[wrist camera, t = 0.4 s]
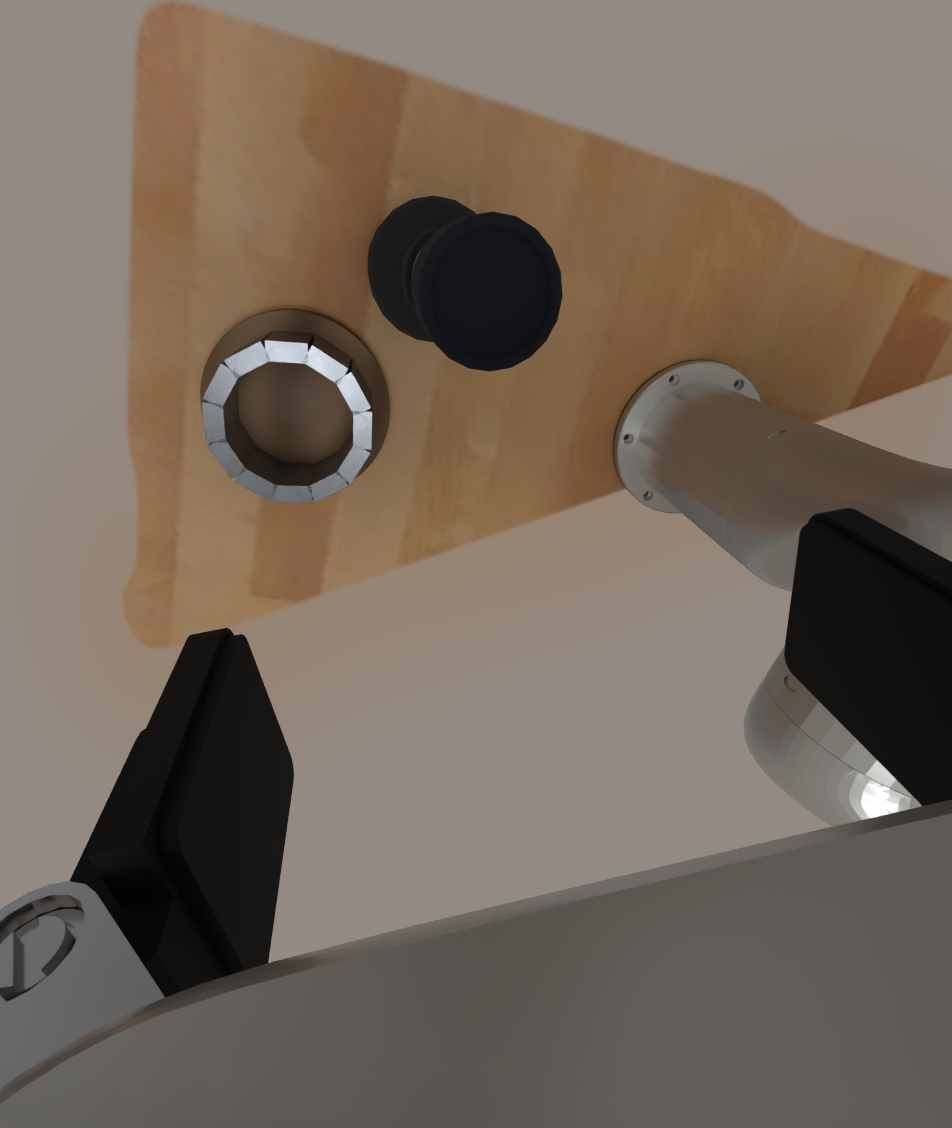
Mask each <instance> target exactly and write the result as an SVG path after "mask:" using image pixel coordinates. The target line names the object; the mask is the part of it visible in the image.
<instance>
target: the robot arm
mask: <svg viewBox="0 0 952 1128" xmlns="http://www.w3.org/2000/svg"><path fill="white" fill-rule="evenodd" d="M671 376H672V379H671V380H670V381H669V379H670V377H671ZM735 381H736V383H735ZM734 383H735V384H734ZM626 434H627V437H626V438H625V439H623V438H624V436H625V435H626ZM614 458H615V466H616V469H617V472H618V475H619V477H620V480H621V481H622V483H623V484H624V486H625V488H626V489H627V490H628V491H629V492H630V493H631V494H632V495H633V496H634V497H635V498H636V499H637V500H638V501H639V502H641V503H642V504H643V505H645V506H647V507H650V508H652V509H654V510H657V511H661V512H666V513H683V514H684V515H685V516H686V517H687V518H688V519H690V520H691V521H692V522H693V523H694V524H696V525H697V526H698V527H699V528H700V529H701V530H702V531H704V532H705V533H706V534H707V535H708V536H709V537H711V538H712V539H713V540H714V541H716V543H718V544H719V545H720V546H721V547H722V548H723V549H725V550H726V551H727V552H728V553H729V554H731V555H732V556H733V557H734V558H735V559H736V560H738V561H739V562H740V563H742V564H743V565H744V566H745V567H746V568H747V569H748V570H750V571H751V572H752V573H753V574H754V575H756V576H757V577H759V578H760V579H762V580H763V581H765V582H767V583H769V584H771V585H773V586H776V587H778V588H780V589H785V590H788V591H792V596H791V603H790V612H789V619H788V627H787V635H786V643H785V646H784V648H783V650H782V651H781V653H780V654H779V656H778V657H777V659H776V660H775V662H774V663H773V665H772V666H771V668H770V670H769V671H768V672H767V675H766V676H765V678H764V679H763V681H762V682H761V684H760V686H759V687H758V689H757V691H756V692H755V694H754V696H753V698H752V699H751V701H750V703H749V706H748V708H747V711H746V714H745V719H744V733H745V740H746V742H747V745H748V748H749V750H750V752H751V754H752V755H753V757H754V759H755V760H756V762H757V763H758V764H759V766H760V767H761V768H762V769H763V771H764V772H765V773H766V774H767V775H768V776H769V777H770V778H771V779H772V780H773V781H774V782H775V783H776V784H777V785H778V786H779V787H780V788H781V789H783V790H784V791H785V792H786V793H787V794H788V795H790V796H791V797H792V798H793V799H794V800H796V801H797V802H798V803H799V804H801V805H802V806H803V807H805V808H806V809H807V810H809V811H810V812H811V813H813V814H814V815H816V816H817V817H818V818H820V819H821V820H823V821H824V822H826V823H827V824H828V825H830V826H831V827H829V828H825V829H821V830H816V831H812V832H808V833H804V834H799V835H795V836H791V837H786V838H782V839H778V840H773V841H769V842H765V843H761V844H756V845H752V846H748V847H744V848H739V849H735V850H731V851H727V852H722V853H718V854H713V855H710V856H705V857H701V858H697V859H692V860H688V861H684V862H679V863H675V864H671V865H667V866H663V867H658V868H654V869H650V870H645V871H641V872H637V873H633V874H628V875H624V876H620V877H615V878H611V879H607V880H603V881H599V882H594V883H591V884H586V885H582V886H578V887H574V888H569V889H565V890H562V891H557V892H553V893H549V894H544V895H540V896H536V897H532V898H528V899H524V900H519V901H515V902H511V903H507V904H503V905H498V906H494V907H491V908H486V909H482V910H478V911H473V912H469V913H465V914H461V915H457V916H453V917H449V918H444V919H440V920H436V921H432V922H428V923H424V924H419V925H415V926H411V927H407V928H403V929H399V930H395V931H391V932H388V933H383V934H380V935H376V936H372V937H368V938H364V939H361V940H356V941H353V942H348V943H345V944H341V945H337V946H333V947H329V948H325V949H321V950H317V951H314V952H310V953H306V954H302V955H298V956H294V957H290V958H286V959H283V960H279V961H275V962H271V963H268V959H269V952H270V946H271V938H272V931H273V924H274V917H275V910H276V903H277V895H278V888H279V881H280V874H281V866H282V859H283V852H284V845H285V838H286V831H287V823H288V816H289V809H290V802H291V795H292V787H293V780H294V770H293V763H292V759H291V755H290V752H289V750H288V747H287V745H286V742H285V739H284V736H283V734H282V731H281V728H280V726H279V723H278V720H277V718H276V715H275V713H274V710H273V707H272V704H271V702H270V699H269V697H268V694H267V691H266V689H265V686H264V683H263V681H262V678H261V676H260V673H259V670H258V668H257V665H256V662H255V659H254V657H253V654H252V652H251V649H250V646H249V643H248V641H247V639H246V637H245V636H244V635H242V634H240V635H235V636H234V634H233V633H232V631H231V630H230V629H228V628H224V629H219V630H213V631H208V632H203V633H198V634H193V635H190V636H189V637H188V639H187V640H186V642H185V645H184V647H183V649H182V651H181V653H180V656H179V658H178V660H177V662H176V664H175V667H174V669H173V671H172V673H171V675H170V678H169V679H168V682H167V684H166V686H165V688H164V691H163V693H162V695H161V697H160V699H159V701H158V704H157V706H156V708H155V710H154V712H153V714H152V717H151V719H150V721H149V723H148V725H147V727H146V729H144V730H143V731H141V733H140V734H139V736H138V738H137V739H136V741H135V743H134V745H133V747H132V749H131V752H130V753H129V756H128V758H127V760H126V762H125V764H124V766H123V768H122V771H121V773H120V775H119V777H118V779H117V781H116V783H115V785H114V788H113V790H112V792H111V794H110V796H109V798H108V800H107V802H106V805H105V807H104V809H103V811H102V813H101V815H100V818H99V819H98V822H97V824H96V826H95V828H94V830H93V832H92V834H91V837H90V839H89V841H88V843H87V845H86V848H85V849H84V851H83V854H82V856H81V858H80V860H79V862H78V865H77V866H76V868H75V871H74V873H73V875H72V877H71V879H70V881H69V882H62V883H55V884H50V885H47V886H44V887H42V888H39V889H37V890H34V891H31V892H29V893H27V894H25V895H23V896H22V897H20V898H18V899H17V900H15V901H13V902H12V903H10V904H8V905H7V906H5V907H4V908H2V909H1V910H0V1128H952V469H948V468H943V467H938V466H935V465H931V464H927V463H922V462H918V461H914V460H912V459H908V458H905V457H902V456H900V455H897V454H894V453H891V452H888V451H885V450H882V449H879V448H876V447H874V446H871V445H868V444H866V443H863V442H860V441H858V440H856V439H853V438H850V437H848V436H845V435H843V434H840V433H838V432H835V431H833V430H830V429H827V428H825V427H823V426H820V425H818V424H815V423H813V422H810V421H808V420H805V419H803V418H800V417H798V416H795V415H793V414H790V413H788V412H785V411H783V410H780V409H778V408H775V407H773V406H770V405H768V404H765V403H763V402H762V401H761V399H760V396H759V394H758V392H757V390H756V388H755V387H754V385H753V384H752V383H751V381H750V380H749V379H748V378H747V377H746V376H745V375H743V374H742V373H741V372H739V371H738V370H736V369H734V368H732V367H730V366H728V365H725V364H722V363H718V362H715V361H706V360H696V361H688V362H683V363H680V364H677V365H674V366H671V367H669V368H667V369H665V370H664V371H662V372H660V373H658V374H656V375H655V376H654V377H653V378H651V379H650V380H649V381H648V382H646V383H645V384H644V385H643V386H642V387H641V388H640V389H639V390H638V392H637V393H636V394H635V395H634V396H633V397H632V399H631V400H630V402H629V404H628V405H627V407H626V408H625V410H624V412H623V414H622V417H621V419H620V421H619V424H618V427H617V431H616V435H615V441H614ZM645 492H646V493H645ZM644 493H645V494H644Z"/></svg>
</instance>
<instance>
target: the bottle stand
mask: <svg viewBox="0 0 952 1128" xmlns="http://www.w3.org/2000/svg"><path fill="white" fill-rule="evenodd" d="M200 394H201V407H202V413H203V418H204V428H205V437H206V442H211V443H210V444H209V445H208V447H209V449H210V450H211V452H212V453H213V454H214V456H215V457H216V459H217V460H218V462H219V463H220V464H221V466H222V467H223V469H224V470H225V471H226V473H227V474H228V476H229V477H230V478H231V479H232V478H234V477H236V476H238V477H237V478H236V480H235V483H237V484H239V485H241V486H243V487H245V488H246V489H248V490H250V491H252V492H254V493H256V494H258V495H260V496H262V497H263V498H265V499H267V500H269V501H270V499H271V498H272V496H274V502H293V503H312V500H313V498H314V500H315V502H317V501H319V500H321V499H323V498H325V497H327V496H329V495H331V494H333V493H335V492H337V491H339V490H341V489H343V488H345V487H347V486H348V483H349V482H350V483H352V481H353V480H354V479H355V478H356V477H358V476H359V475H360V474H361V473H363V472H364V471H365V470H366V469H367V468H368V467H369V466H370V464H371V463H372V462H373V460H374V459H375V458H376V456H377V454H378V453H379V451H380V449H381V447H382V445H383V442H384V439H385V437H386V433H387V429H388V423H389V399H388V393H387V387H386V383H385V380H384V377H383V374H382V372H381V369H380V367H379V365H378V363H377V361H376V360H375V358H374V356H373V355H372V353H371V352H370V350H369V349H368V348H367V347H366V345H365V344H364V343H363V342H362V341H361V340H360V339H359V338H358V337H357V336H356V335H355V334H354V333H352V332H351V331H350V330H349V329H347V328H346V327H345V326H343V325H341V324H340V323H338V322H336V321H335V320H333V319H330V318H328V317H326V316H323V315H321V314H318V313H314V312H311V311H305V310H299V309H279V310H271V311H267V312H264V313H260V314H257V315H255V316H253V317H250V318H248V319H246V320H245V321H243V322H242V323H240V324H238V325H237V326H235V327H234V328H232V329H231V330H230V331H229V332H228V333H227V334H225V335H224V336H223V337H222V339H221V340H220V341H219V342H218V343H217V345H216V346H215V348H214V349H213V351H212V352H211V354H210V356H209V358H208V360H207V363H206V365H205V368H204V372H203V376H202V381H201V390H200Z"/></svg>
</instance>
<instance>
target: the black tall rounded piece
mask: <svg viewBox="0 0 952 1128" xmlns="http://www.w3.org/2000/svg"><path fill="white" fill-rule="evenodd" d="M368 275H369V280H370V285H371V290H372V295H373V297H374V299H375V300H376V302H377V304H378V306H379V308H380V310H381V312H382V314H383V315H384V316H385V317H386V318H387V319H388V320H389V321H390V322H391V323H392V324H393V325H394V326H395V327H396V328H397V329H398V330H399V331H401V332H403V333H405V334H407V335H409V336H411V337H413V338H415V339H417V340H423V341H429V342H434V343H435V344H436V345H437V346H438V347H439V348H440V349H441V350H442V351H443V353H444V354H445V355H446V356H447V357H448V358H450V359H452V360H454V361H455V362H457V363H459V364H461V365H463V366H465V367H467V368H470V369H477V370H484V371H495V370H501V369H506V368H511V367H513V366H515V365H517V364H519V363H520V362H522V361H524V360H526V359H528V358H530V357H531V356H532V355H533V354H534V353H535V352H536V351H537V350H538V349H539V348H540V347H541V346H542V345H543V344H544V343H545V342H546V340H547V339H548V337H549V335H550V333H551V331H552V329H553V327H554V325H555V323H556V322H557V319H558V314H559V310H560V305H561V300H562V284H561V271H560V269H559V266H558V263H557V261H556V258H555V255H554V253H553V250H552V248H551V247H550V246H549V244H548V243H547V242H546V240H545V239H544V238H543V237H542V235H541V234H540V233H539V232H538V230H537V229H535V228H534V227H532V226H531V225H529V224H527V223H526V222H524V221H523V220H521V219H519V218H518V217H516V216H511V215H506V214H502V213H497V212H488V213H482V214H476V213H475V212H474V211H472V210H470V209H469V208H467V207H466V206H464V205H462V204H461V203H459V202H457V201H456V200H452V199H447V198H443V197H438V196H428V197H422V198H416V199H412V200H410V201H408V202H406V203H405V204H403V205H401V206H399V207H398V208H396V209H394V210H393V211H392V212H391V213H390V214H389V216H388V217H387V218H386V219H385V220H384V221H383V223H382V224H381V225H380V226H379V227H378V229H377V231H376V232H375V234H374V237H373V239H372V242H371V244H370V247H369V256H368Z"/></svg>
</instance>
